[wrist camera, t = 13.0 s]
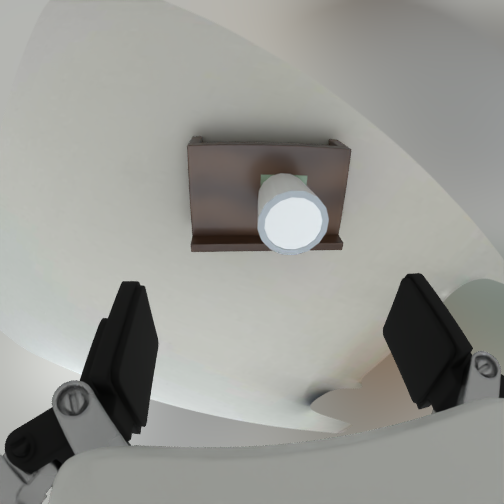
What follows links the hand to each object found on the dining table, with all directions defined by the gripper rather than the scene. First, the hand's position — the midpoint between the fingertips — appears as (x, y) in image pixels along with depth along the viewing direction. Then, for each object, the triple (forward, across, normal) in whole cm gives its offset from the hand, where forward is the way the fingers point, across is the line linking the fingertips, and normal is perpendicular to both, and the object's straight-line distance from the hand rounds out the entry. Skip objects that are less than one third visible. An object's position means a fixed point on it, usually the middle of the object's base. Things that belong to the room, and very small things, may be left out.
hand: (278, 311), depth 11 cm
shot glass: (+25, -4, +6) cm, 26 cm away
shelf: (+30, -3, +6) cm, 30 cm away
